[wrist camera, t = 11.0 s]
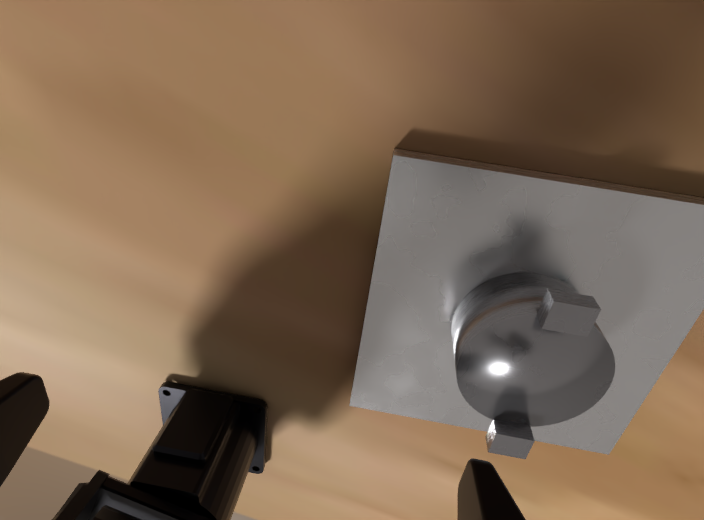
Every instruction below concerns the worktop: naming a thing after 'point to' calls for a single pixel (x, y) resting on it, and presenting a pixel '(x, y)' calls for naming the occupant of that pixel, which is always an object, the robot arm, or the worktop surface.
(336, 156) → the worktop surface
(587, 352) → the grey square plate
